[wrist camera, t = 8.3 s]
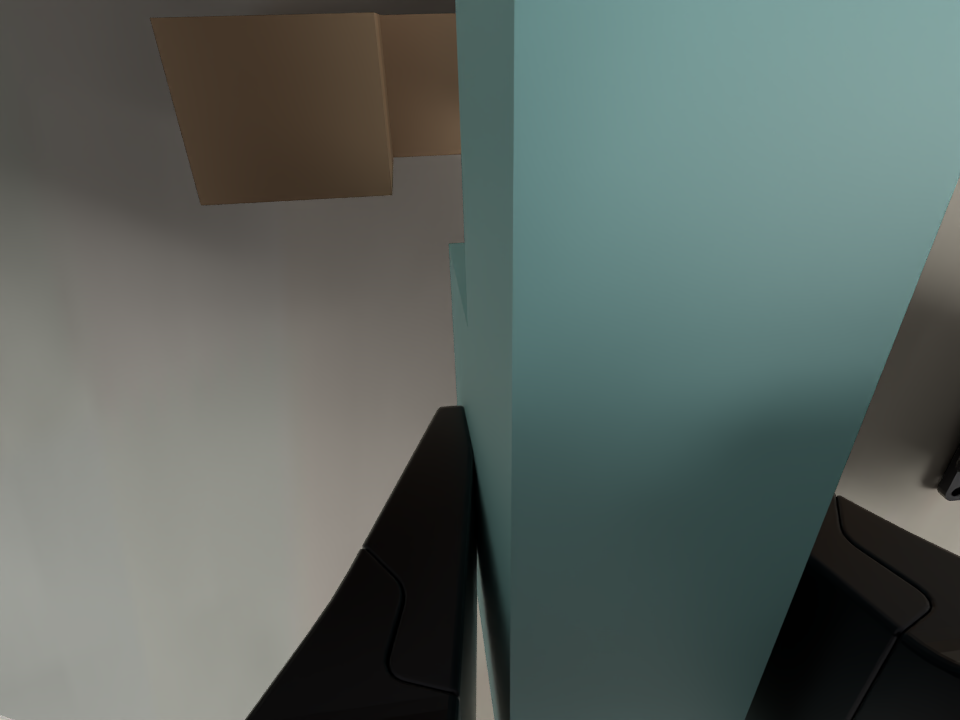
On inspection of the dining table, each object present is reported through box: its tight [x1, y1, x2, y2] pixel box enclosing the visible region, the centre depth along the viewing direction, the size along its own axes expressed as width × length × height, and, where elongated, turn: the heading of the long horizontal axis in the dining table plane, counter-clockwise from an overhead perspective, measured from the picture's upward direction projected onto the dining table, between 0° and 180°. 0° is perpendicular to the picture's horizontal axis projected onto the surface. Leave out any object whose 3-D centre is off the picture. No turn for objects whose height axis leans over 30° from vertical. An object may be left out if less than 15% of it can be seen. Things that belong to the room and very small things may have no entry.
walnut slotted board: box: [150, 12, 461, 205], centre depth 12 cm, size 20×2×6 cm, turn 91°
